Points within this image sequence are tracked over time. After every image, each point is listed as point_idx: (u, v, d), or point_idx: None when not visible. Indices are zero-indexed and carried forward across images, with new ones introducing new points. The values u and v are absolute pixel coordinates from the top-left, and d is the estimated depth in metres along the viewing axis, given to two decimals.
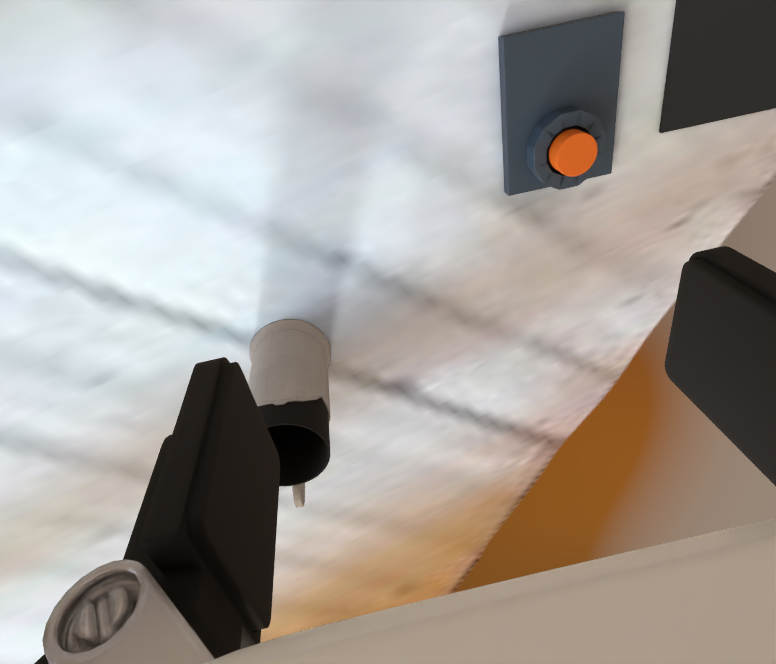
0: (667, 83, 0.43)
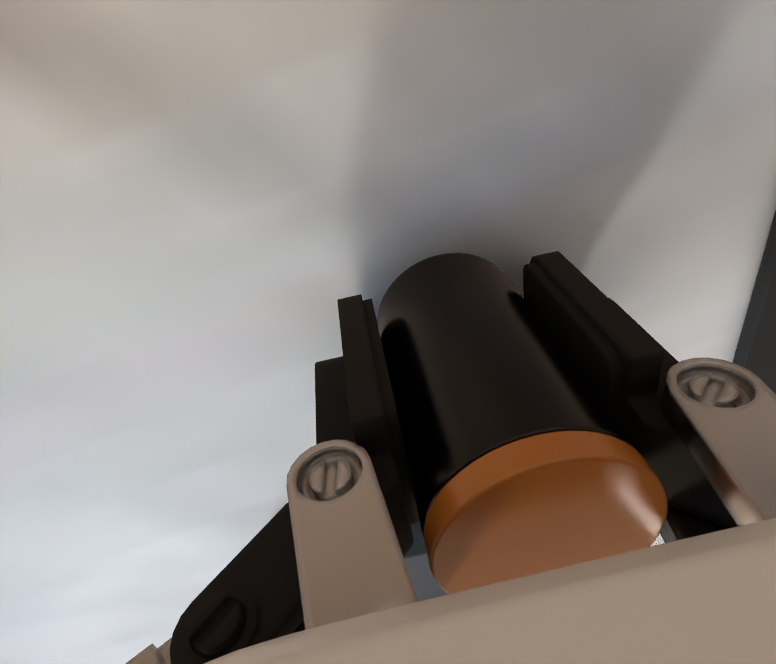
0: None
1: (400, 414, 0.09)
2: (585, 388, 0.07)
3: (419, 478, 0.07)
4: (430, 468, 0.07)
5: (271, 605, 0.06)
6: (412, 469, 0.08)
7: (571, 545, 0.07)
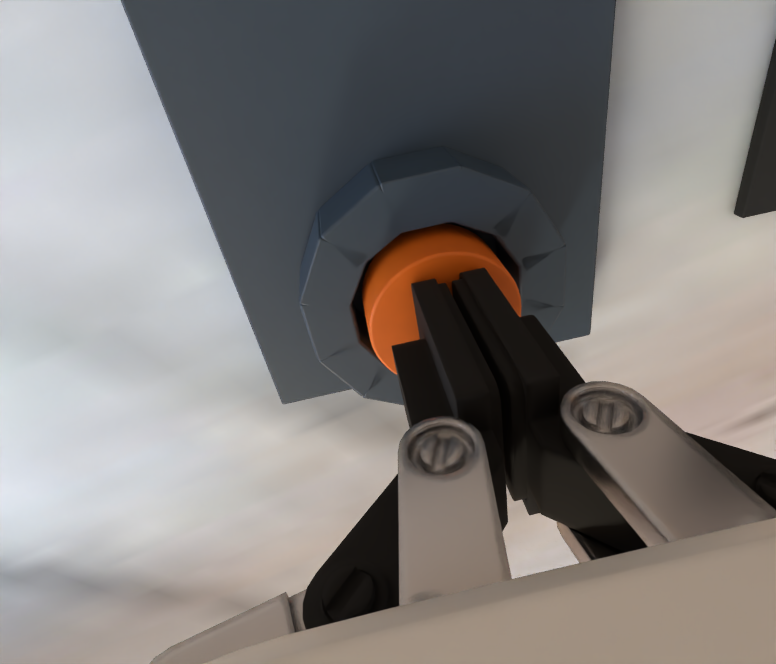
0: None
1: None
2: None
3: None
4: None
5: None
6: None
7: None
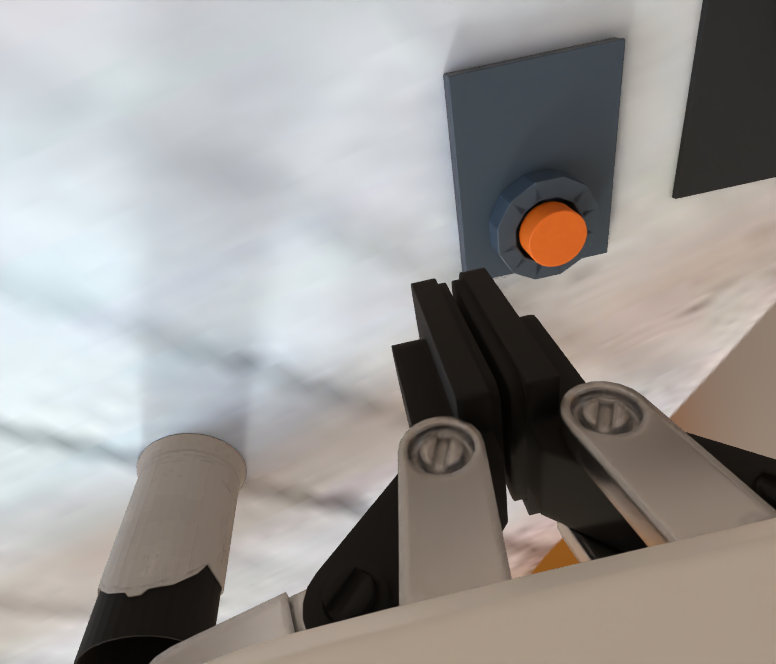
0: (684, 134, 0.31)
1: None
2: None
3: None
4: None
5: None
6: None
7: None
